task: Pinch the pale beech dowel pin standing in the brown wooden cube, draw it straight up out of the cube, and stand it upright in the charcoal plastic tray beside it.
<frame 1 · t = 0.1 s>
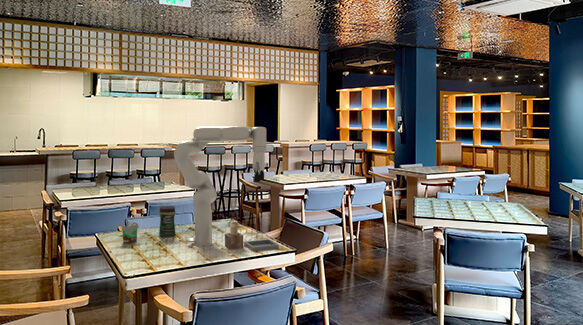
hand: (259, 180, 258), 37 cm above the table, tool pointing down, fingers open, 9 cm apart
food container: (132, 241, 272), on the table
brown wooden cube: (234, 248, 257), on the table
beech pin: (234, 247, 257), point 1 cm above the table, touching brown wooden cube
coffee jar: (167, 236, 287), on the table
charcoal tray: (261, 248, 258), on the table
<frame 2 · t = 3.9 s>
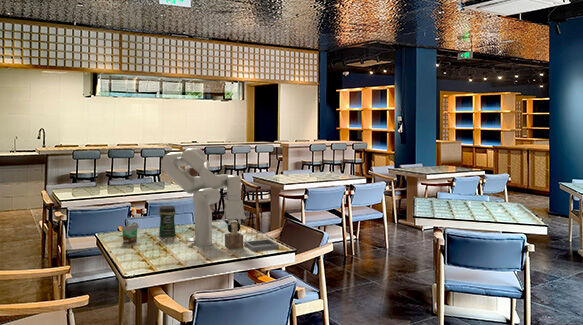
hand: (233, 231, 256), 10 cm above the table, tool pointing down, fingers closed on beech pin, 4 cm apart
beech pin: (234, 247, 257), point 1 cm above the table, touching gripper, brown wooden cube
everything else where it was.
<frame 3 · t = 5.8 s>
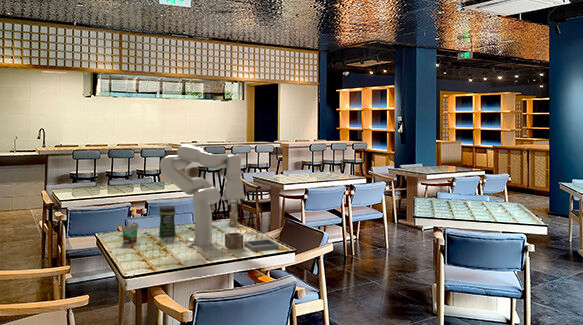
hand: (233, 210, 255), 21 cm above the table, tool pointing down, fingers closed on beech pin, 4 cm apart
beech pin: (233, 226, 256), point 12 cm above the table, touching gripper
everything else where it was.
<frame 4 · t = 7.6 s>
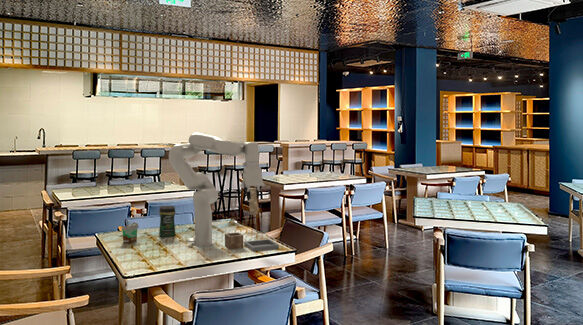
hand: (253, 198, 255), 28 cm above the table, tool pointing down, fingers closed on beech pin, 4 cm apart
beech pin: (253, 214, 256), point 19 cm above the table, touching gripper
everything else where it was.
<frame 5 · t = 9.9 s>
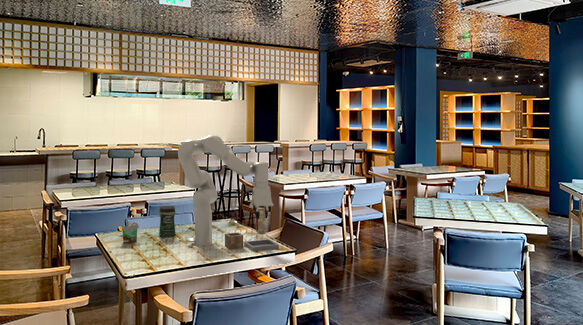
hand: (261, 217, 257), 17 cm above the table, tool pointing down, fingers closed on beech pin, 4 cm apart
beech pin: (261, 233, 257), point 8 cm above the table, touching gripper
everything else where it was.
when the fingers open (11 cm above the table, at t = 11.8 s): beech pin drops 1 cm, resting on charcoal tray.
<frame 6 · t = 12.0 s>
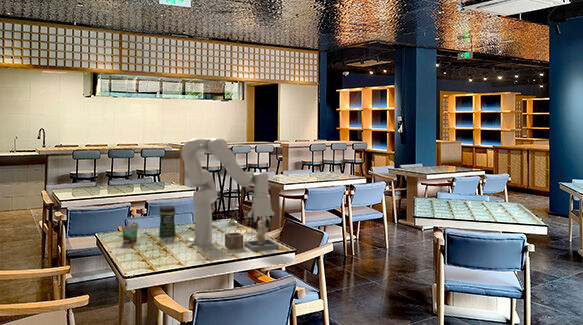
hand: (261, 227, 257), 12 cm above the table, tool pointing down, fingers open, 6 cm apart
beech pin: (261, 246, 258), point 1 cm above the table, touching charcoal tray
everything else where it was.
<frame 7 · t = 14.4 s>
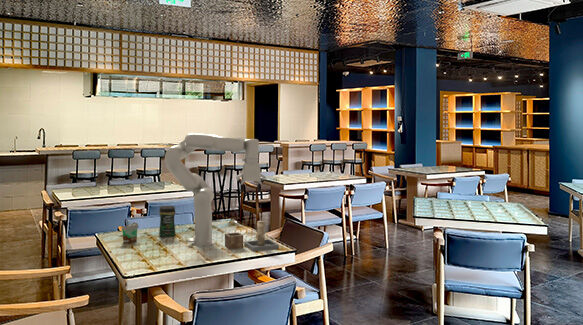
hand: (250, 191, 264), 30 cm above the table, tool pointing down, fingers open, 9 cm apart
nothing on the table moved.
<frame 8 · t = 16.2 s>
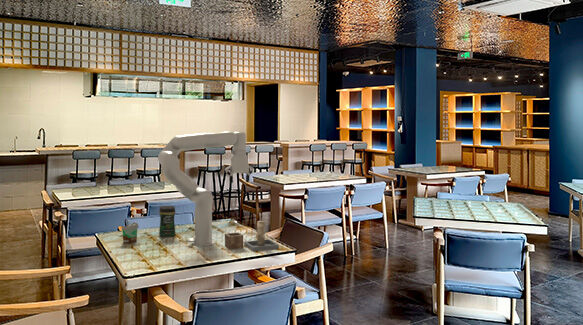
hand: (239, 182, 274), 34 cm above the table, tool pointing down, fingers open, 9 cm apart
nothing on the table moved.
at the end: beech pin inside the target area on the charcoal tray (0.1 cm from its centre), point 1.0 cm above the charcoal tray's base; the gripper is holding nothing; beech pin tilted 0° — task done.
